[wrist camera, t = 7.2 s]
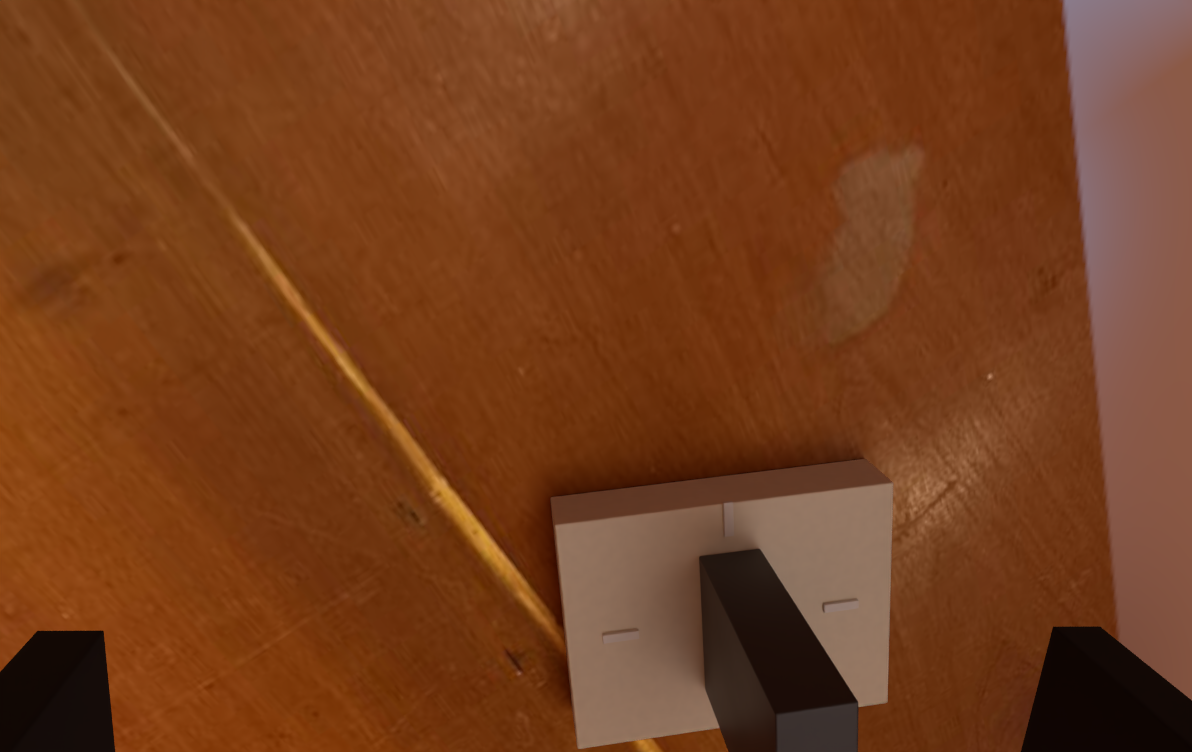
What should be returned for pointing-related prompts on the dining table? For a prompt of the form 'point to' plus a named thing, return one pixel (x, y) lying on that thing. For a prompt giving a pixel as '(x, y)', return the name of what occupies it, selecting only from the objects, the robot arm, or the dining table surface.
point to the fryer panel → (673, 594)
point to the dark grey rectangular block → (768, 664)
